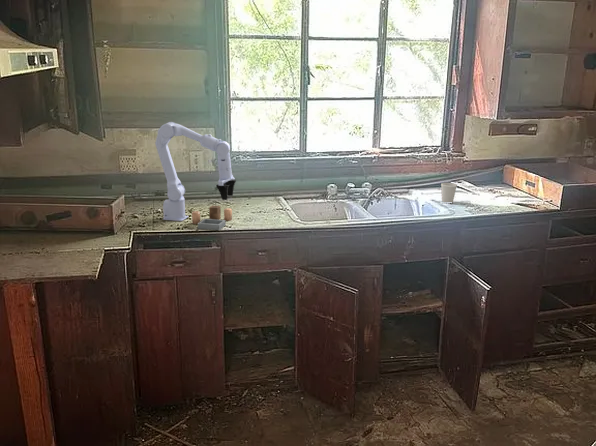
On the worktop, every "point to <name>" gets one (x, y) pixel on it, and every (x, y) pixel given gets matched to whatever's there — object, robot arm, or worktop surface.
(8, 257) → the worktop surface
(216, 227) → the tray
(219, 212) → the walnut block
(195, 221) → the tan cylinder
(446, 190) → the dixie cup
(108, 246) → the worktop surface
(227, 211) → the tan cylinder
